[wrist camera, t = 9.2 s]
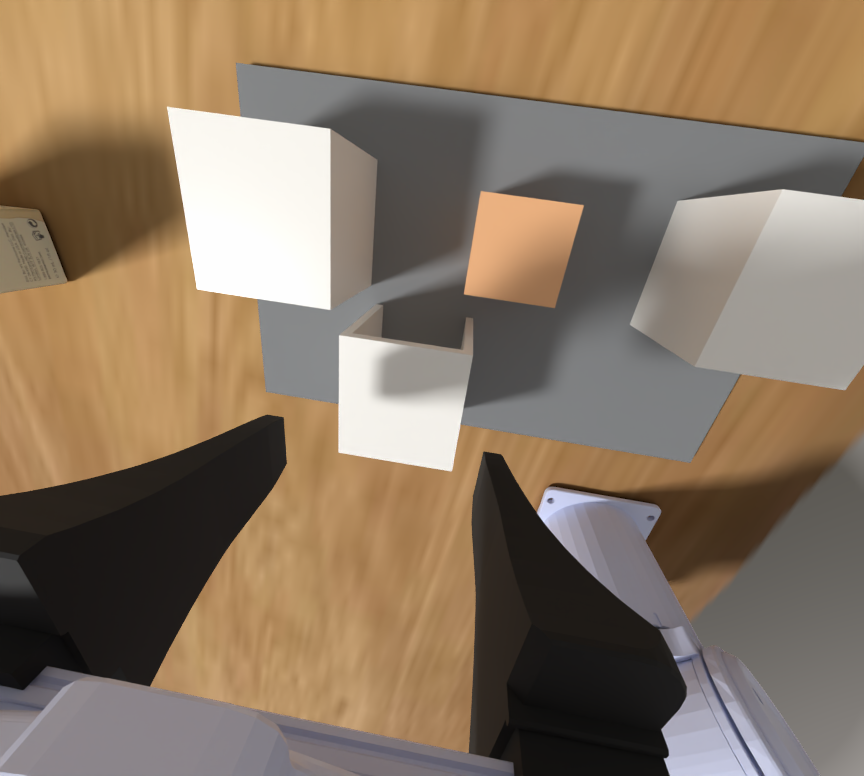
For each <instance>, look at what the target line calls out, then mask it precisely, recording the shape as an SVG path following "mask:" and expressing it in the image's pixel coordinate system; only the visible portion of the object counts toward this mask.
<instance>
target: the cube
mask: <svg viewBox="0 0 864 776" xmlns="http://www.w3.org/2000/svg"><path fill="white" fill-rule="evenodd" d="M583 207H584V205H578V204H571V203H564V202H557V201H549V200H542V199H535V198H528V197H520V196H513V195H506V194H499V193H492V192H484V191H481V193H480V198H479V204H478V210H477V216H476V222H475V228H474V234H473V240H472V246H471V252H470V258H469V264H468V270H467V276H466V283H465V290H464V294H465V295H472V296H478V297H485V298H491V299H498V300H505V301H511V302H518V303H524V304H531V305H538V306H544V307H551V308H555V305H556V302H557V298H558V295H559V291H560V288H561V284H562V281H563V277H564V274H565V270H566V267H567V263H568V260H569V256H570V253H571V249H572V246H573V242H574V239H575V235H576V231H577V228H578V224H579V221H580V217H581V214H582V210H583Z"/></svg>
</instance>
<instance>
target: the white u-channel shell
mask: <svg viewBox="0 0 864 776" xmlns="http://www.w3.org/2000/svg"><path fill="white" fill-rule="evenodd" d="M382 320H383V305H380V304H376V305H375V306H374V307H372V308H371V309H370V310H369V311H368V312H366V313H365V314H364V315H363V316H362V317H360V318H359V319H358V320H357V321H356V322H354V323H353V324H352V325H351V326H350V327H348V328H347V329H346V330H345V331H343V332H342V333H341V334H340V335H339V453H345V454H351V455H357V456H363V457H368V458H374V459H380V460H386V461H392V462H398V463H404V464H410V465H416V466H422V467H428V468H434V469H440V470H446V471H452V467H453V462H454V456H455V451H456V446H457V440H458V435H459V429H460V424H461V418H462V413H463V408H464V402H465V397H466V391H467V386H468V380H469V375H470V369H471V364H472V359H473V318H468V317H466V322H465V328H464V334H463V340H462V346H461V350H460V349H454V348H447V347H440V346H434V345H427V344H420V343H414V342H407V341H401V340H394V339H387V338H381V337H382Z"/></svg>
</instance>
